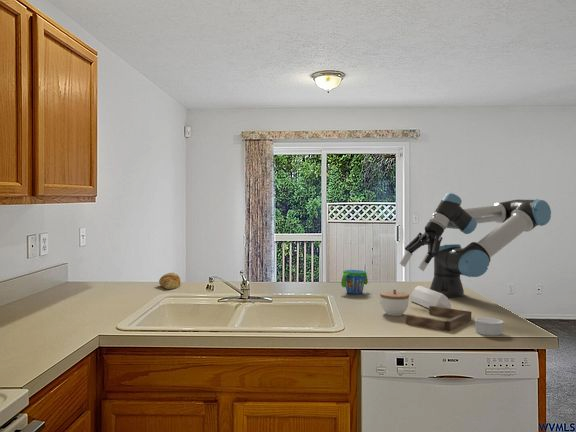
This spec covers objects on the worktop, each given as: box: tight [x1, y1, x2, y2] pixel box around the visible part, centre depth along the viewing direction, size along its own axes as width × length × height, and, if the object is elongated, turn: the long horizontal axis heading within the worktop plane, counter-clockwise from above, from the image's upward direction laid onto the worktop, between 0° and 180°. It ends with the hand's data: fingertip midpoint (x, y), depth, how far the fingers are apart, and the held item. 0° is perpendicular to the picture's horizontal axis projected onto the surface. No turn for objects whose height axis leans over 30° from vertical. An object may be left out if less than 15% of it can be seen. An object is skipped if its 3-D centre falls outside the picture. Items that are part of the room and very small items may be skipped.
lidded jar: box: [379, 288, 410, 317], centre depth 191 cm, size 11×11×9 cm
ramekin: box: [474, 316, 504, 337], centre depth 165 cm, size 9×9×4 cm
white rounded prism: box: [409, 285, 452, 309], centre depth 206 cm, size 7×7×24 cm
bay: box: [405, 306, 472, 332], centre depth 179 cm, size 16×21×3 cm
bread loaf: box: [158, 272, 181, 290], centre depth 244 cm, size 21×10×8 cm, turn 9°
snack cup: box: [340, 269, 369, 295], centre depth 233 cm, size 16×10×10 cm
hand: (411, 267), depth 210 cm, fingers open, 13 cm apart
